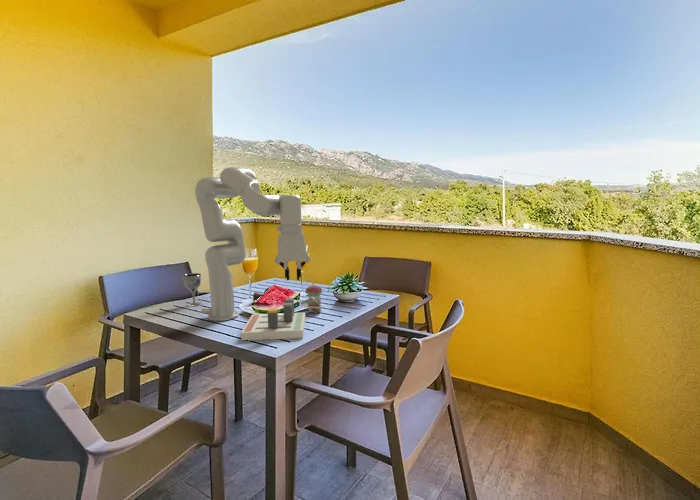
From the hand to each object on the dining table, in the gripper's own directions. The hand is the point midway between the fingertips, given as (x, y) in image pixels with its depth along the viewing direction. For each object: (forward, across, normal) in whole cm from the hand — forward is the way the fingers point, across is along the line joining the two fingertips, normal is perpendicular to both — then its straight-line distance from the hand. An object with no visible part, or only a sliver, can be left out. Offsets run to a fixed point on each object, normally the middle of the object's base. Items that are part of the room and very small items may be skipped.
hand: (293, 279), depth 136 cm
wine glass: (+21, -53, +49) cm, 75 cm away
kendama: (+22, -18, +51) cm, 59 cm away
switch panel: (+21, -8, +7) cm, 24 cm away
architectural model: (+22, +7, +27) cm, 36 cm away
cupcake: (+21, +6, +50) cm, 55 cm away
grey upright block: (+18, -8, 0) cm, 20 cm away
